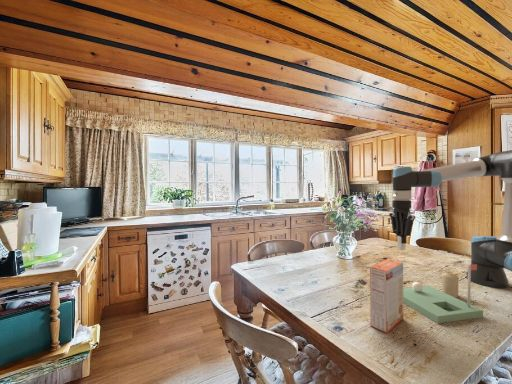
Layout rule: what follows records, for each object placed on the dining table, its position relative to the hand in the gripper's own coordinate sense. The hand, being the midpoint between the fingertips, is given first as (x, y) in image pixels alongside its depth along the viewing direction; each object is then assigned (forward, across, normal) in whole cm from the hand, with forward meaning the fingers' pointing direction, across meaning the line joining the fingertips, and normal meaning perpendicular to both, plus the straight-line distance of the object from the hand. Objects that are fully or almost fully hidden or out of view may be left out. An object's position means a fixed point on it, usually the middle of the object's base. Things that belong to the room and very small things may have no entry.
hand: (401, 249), depth 110 cm
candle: (+19, +10, +16) cm, 27 cm away
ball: (+14, +9, 0) cm, 17 cm away
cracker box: (+19, +23, -27) cm, 40 cm away
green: (+18, +16, 0) cm, 24 cm away
